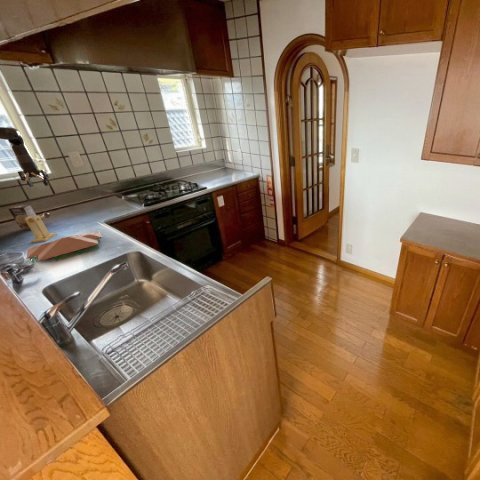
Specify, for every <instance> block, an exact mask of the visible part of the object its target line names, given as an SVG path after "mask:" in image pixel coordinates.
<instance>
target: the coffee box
mask: <svg viewBox="0 0 480 480" xmlns="http://www.w3.org/2000/svg"><path fill="white" fill-rule="evenodd" d="M8 211H9V212H10V214H11V216H12V218H13V219H14V221H15V222H16V224H17V225H18V227H19V228H20V230H21V231H27V230H29V231H30V230H31V229H30V227H29V226H28V224H27V222H26V221H25V218H27V217H29V216H32V218H33V217H35V216H37V214H36V213H35V211H34V208H33V207H32V205H31V204H17V205H13V206H11V207H9V208H8Z"/></svg>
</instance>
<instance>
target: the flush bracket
mask: <svg viewBox="0 0 480 480" xmlns="http://www.w3.org/2000/svg"><path fill="white" fill-rule="evenodd" d="M40 216H41V215H39V214H38V215H36V216H35V217H33V218H32V216H29V217H27V218H25V221H26V222H27V224H28V226H29V227H30V229H29V230H31V233H32V234H33V235H34V237H35V238H33V239H31V240H30V243H43V242H47V241H49V240H50V239H52V238H53V237H54V236H56V235H57V232H49V230H48V228H47V226H46V225H45V223H44V222H43V220H42V218H40ZM29 218H32V219H33V221H34V222H30V221H29Z"/></svg>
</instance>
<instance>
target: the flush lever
mask: <svg viewBox="0 0 480 480" xmlns="http://www.w3.org/2000/svg"><path fill="white" fill-rule="evenodd" d="M39 216H40V218H41V219H43V218H44V219H50V218H51V213H49V212H43V214H42V215H39ZM29 221H30V222H34V221H33V219H32V218H29Z"/></svg>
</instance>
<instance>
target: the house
mask: <svg viewBox="0 0 480 480" xmlns="http://www.w3.org/2000/svg"><path fill="white" fill-rule="evenodd" d="M102 238H103V236H102V234H101V232H94V231H91V232H85V233H81V234H80V233H79V234H74V235H69V236H65V237H62V238H58V239H54V240H53V241H49V242H44V243H41V244H38V245H35V246H31V247H29V248H27V252H26V260H27V259H29V260H30V261H31V259H32V257H33V258H34V260H36V259H37V262H41V261H45V260H48V259H51V258H54V259H55V261H56V262H58V261H60V256H62V257H61V258H62V259H61V261H62V260H66V259H67V257H69V256H68V255H70V253H71V257H74V256H75V254H77V255H82V254H83V255H84V249H85V251H88V252H91V248H90V247H92V249H95V251H96V250H98V249H100V247H99V243H100V242H101V239H102ZM95 246H96V247H97V248H95ZM89 250H90V251H89Z"/></svg>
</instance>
